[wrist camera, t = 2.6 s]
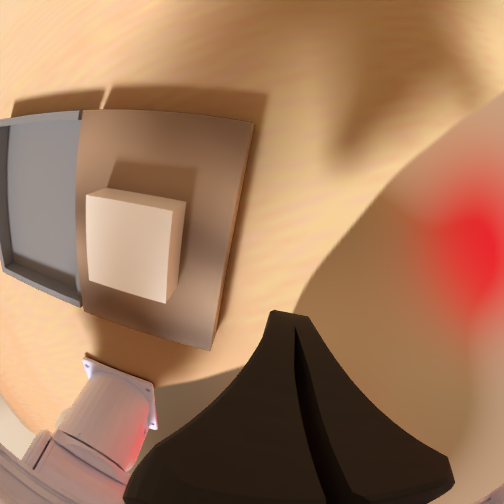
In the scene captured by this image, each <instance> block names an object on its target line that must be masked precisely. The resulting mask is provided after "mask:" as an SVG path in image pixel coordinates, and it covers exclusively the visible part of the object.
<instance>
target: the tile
mask: <svg viewBox="0 0 504 504" xmlns="http://www.w3.org/2000/svg"><path fill="white" fill-rule="evenodd" d="M185 209H186V202H185V201H180V200H175V199H169V198H164V197H158V196H153V195H147V194H141V193H135V192H129V191H123V190H117V189H111V188H105V189H102V190H99V191H96V192H93V193H90V194H87V195H86V245H87V262H88V274H89V280H90V281H93V282H96V283H99V284H102V285H105V286H108V287H111V288H114V289H117V290H120V291H124V292H127V293H130V294H133V295H137V296H140V297H143V298H147V299H150V300H154V301H157V302H161V303H165V304H166V303H167V301H168V300H169V298H170V297H171V295H172V293H173V292H174V290H175V289H176V287H177V286H178V274H179V263H180V253H181V243H182V234H183V225H184V217H185Z"/></svg>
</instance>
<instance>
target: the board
mask: <svg viewBox="0 0 504 504" xmlns="http://www.w3.org/2000/svg"><path fill="white" fill-rule="evenodd" d="M254 127H255V125H254V124H253V123H252V122H247V121H242V120H236V119H229V118H223V117H215V116H208V115H200V114H190V113H180V112H168V111H153V110H126V109H99V110H83V114H82V121H81V128H80V136H79V145H78V155H77V169H76V191H75V223H76V246H77V259H78V270H79V279H80V287H81V295H82V302H83V308H84V311H85V312H87V313H90V314H93V315H95V316H98V317H100V318H103V319H106V320H109V321H111V322H114V323H117V324H120V325H123V326H126V327H129V328H132V329H135V330H138V331H141V332H144V333H147V334H150V335H153V336H157V337H160V338H163V339H167V340H170V341H174V342H177V343H181V344H185V345H188V346H192V347H196V348H200V349H204V350H208V351H210V350H211V347H212V344H213V341H214V337H215V334H216V329H217V323H218V317H219V311H220V306H221V300H222V294H223V288H224V283H225V277H226V271H227V266H228V260H229V255H230V249H231V244H232V238H233V233H234V228H235V222H236V217H237V212H238V207H239V201H240V196H241V191H242V186H243V181H244V176H245V171H246V166H247V161H248V156H249V151H250V146H251V142H252V137H253V132H254ZM105 188H111V189H117V190H123V191H129V192H135V193H141V194H147V195H153V196H158V197H164V198H169V199H175V200H180V201H185V202H186V209H185V217H184V225H183V234H182V243H181V253H180V263H179V274H178V286H177V287H176V289H175V290H174V292H173V293H172V295H171V297H170V298H169V300H168V301H167V303H166V304H165V303H161V302H157V301H154V300H150V299H147V298H143V297H140V296H137V295H133V294H130V293H127V292H124V291H120V290H117V289H114V288H111V287H108V286H105V285H102V284H99V283H96V282H93V281H90V280H89V274H88V262H87V245H86V195H87V194H90V193H93V192H96V191H99V190H102V189H105Z"/></svg>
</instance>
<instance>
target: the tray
mask: <svg viewBox="0 0 504 504" xmlns="http://www.w3.org/2000/svg"><path fill="white" fill-rule="evenodd" d="M82 114H83V111H81V110H78V111H62V112H51V113H41V114H33V115H25V116H19V117H12V118H7V119H1V120H0V260H1V265H2V270H3V272H4V273H6V274H8V275H10V276H12V277H14V278H16V279H18V280H20V281H22V282H24V283H26V284H28V285H30V286H32V287H34V288H36V289H38V290H41V291H43V292H45V293H47V294H49V295H51V296H54V297H56V298H58V299H61V300H63V301H65V302H68V303H70V304H72V305H75V306H77V307H80V308H81V307H82V306H83V302H82V295H81V287H80V279H79V270H78V259H77V246H76V223H75V191H76V169H77V155H78V145H79V136H80V128H81V121H82Z"/></svg>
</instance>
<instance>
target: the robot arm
mask: <svg viewBox="0 0 504 504" xmlns="http://www.w3.org/2000/svg"><path fill="white" fill-rule="evenodd" d="M82 361H83V365H84V368H85V371H86V374H87V377H88V382H87V383H86V385H85V386H84V388H83V389H82V391H81V392H80V394H79V395H78V397H77V398H76V400H75V402H74V403H73V405H72V406H71V408H70V409H69V411H68V413H67V414H66V416H65V417H64V419H63V421H62V422H61V424H60V426H59V427H58V429H57V430H56V431H55V432H54V433H53V434H52V433H51V432H50V431H49V430H47V429H46V430H40V431H39V432H38V434H37V435H36V437H35V438H34V440H33V442H32V443H31V445H30V447H29V448H28V450H27V452H26V453H25V455H24V457H23V459H22V460H19V459H18V458H17V457H16V456H15V455H13V454H12V453H11V452H10V451H9V450H8V449H6V448H5V447H4V446H3V445H2V444H1V443H0V504H427V503H429V502H431V501H433V500H435V499H436V498H438V497H440V496H441V495H443V494H445V493H446V492H447V491H449V490H450V489H451V488H452V487H453V485H454V484H455V480H454V477H453V473H452V470H451V466H450V463H449V460H448V458H447V456H445V455H443V454H441V453H439V452H438V451H436V450H434V449H432V448H430V447H429V446H427V445H425V444H423V443H422V442H420V441H419V440H417V439H416V438H414V437H413V436H411V435H410V434H408V433H407V432H406V431H404V430H403V429H402V428H400V427H399V426H398V425H397V424H395V423H394V422H393V421H392V420H390V419H389V418H388V417H387V416H386V415H385V414H384V413H382V412H381V411H380V410H379V409H378V408H377V407H376V406H375V405H374V404H373V403H372V402H371V401H370V400H369V399H368V398H367V397H366V396H365V395H364V394H363V393H362V392H361V391H360V390H359V388H358V387H357V386H356V385H355V384H354V383H353V381H352V380H351V379H350V378H349V377H348V375H347V374H346V373H345V371H344V370H343V369H342V367H341V366H340V365H339V363H338V362H337V361H336V359H335V358H334V356H333V355H332V353H331V352H330V351H329V349H328V347H327V346H326V344H325V343H324V341H323V340H322V338H321V336H320V335H319V333H318V332H317V330H316V328H315V327H314V325H313V323H312V322H311V320H310V319H309V317H308V316H303V315H297V314H292V313H287V312H282V311H277V310H273V311H271V312H270V314H269V317H268V320H267V324H266V327H265V331H264V334H263V337H262V339H261V341H260V343H259V345H258V347H257V348H256V350H255V351H254V353H253V355H252V356H251V358H250V359H249V361H248V362H247V364H246V365H245V366H244V368H243V369H242V370H241V372H240V373H239V374H238V375H237V377H236V378H235V379H234V380H233V381H232V383H231V384H230V385H229V386H228V387H227V388H226V389H225V390H224V391H223V392H222V393H221V394H220V395H219V396H218V397H217V398H216V399H215V400H214V401H213V402H212V403H211V404H210V405H209V406H208V407H206V408H205V409H204V410H203V411H202V412H201V413H199V414H198V415H197V416H196V417H195V418H193V419H192V420H191V421H190V422H188V423H187V424H186V425H184V426H183V427H182V428H180V429H179V430H178V431H176V432H174V433H173V434H171V435H170V436H168V437H167V438H165V439H164V440H162V441H161V442H159V443H158V444H156V445H155V446H154V447H153V448H152V450H150V452H149V453H148V454H147V455H146V456H145V457H144V459H143V460H142V461H141V462H140V463H139V465H138V466H137V467H136V469H135V470H134V472H133V473H132V475H131V477H130V474H128V473H126V472H127V471H128V470H130V469H131V468H132V467H133V465H134V464H135V462H136V459H137V457H138V454H139V452H140V449H141V446H142V444H143V441H144V439H145V436H146V434H147V431H148V429H149V428H151V429H153V430H157V429H158V423H157V415H156V406H155V396H154V386H153V384H152V383H151V382H149V381H146V380H143V379H140V378H137V377H134V376H132V375H129V374H126V373H123V372H121V371H118V370H116V369H113V368H111V367H108V366H106V365H103V364H101V363H99V362H96V361H94V360H92V359H89V358H87V357H84V358H83V359H82ZM51 434H52V436H51ZM129 478H130V479H129ZM473 504H504V484H503V485H501V486H500V487H498V488H497V489H495V490H494V491H492V492H491V493H490V494H489V495H487V496H485V497H483V498H482V499H480V500H478V501H476V502H474V503H473Z"/></svg>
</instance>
